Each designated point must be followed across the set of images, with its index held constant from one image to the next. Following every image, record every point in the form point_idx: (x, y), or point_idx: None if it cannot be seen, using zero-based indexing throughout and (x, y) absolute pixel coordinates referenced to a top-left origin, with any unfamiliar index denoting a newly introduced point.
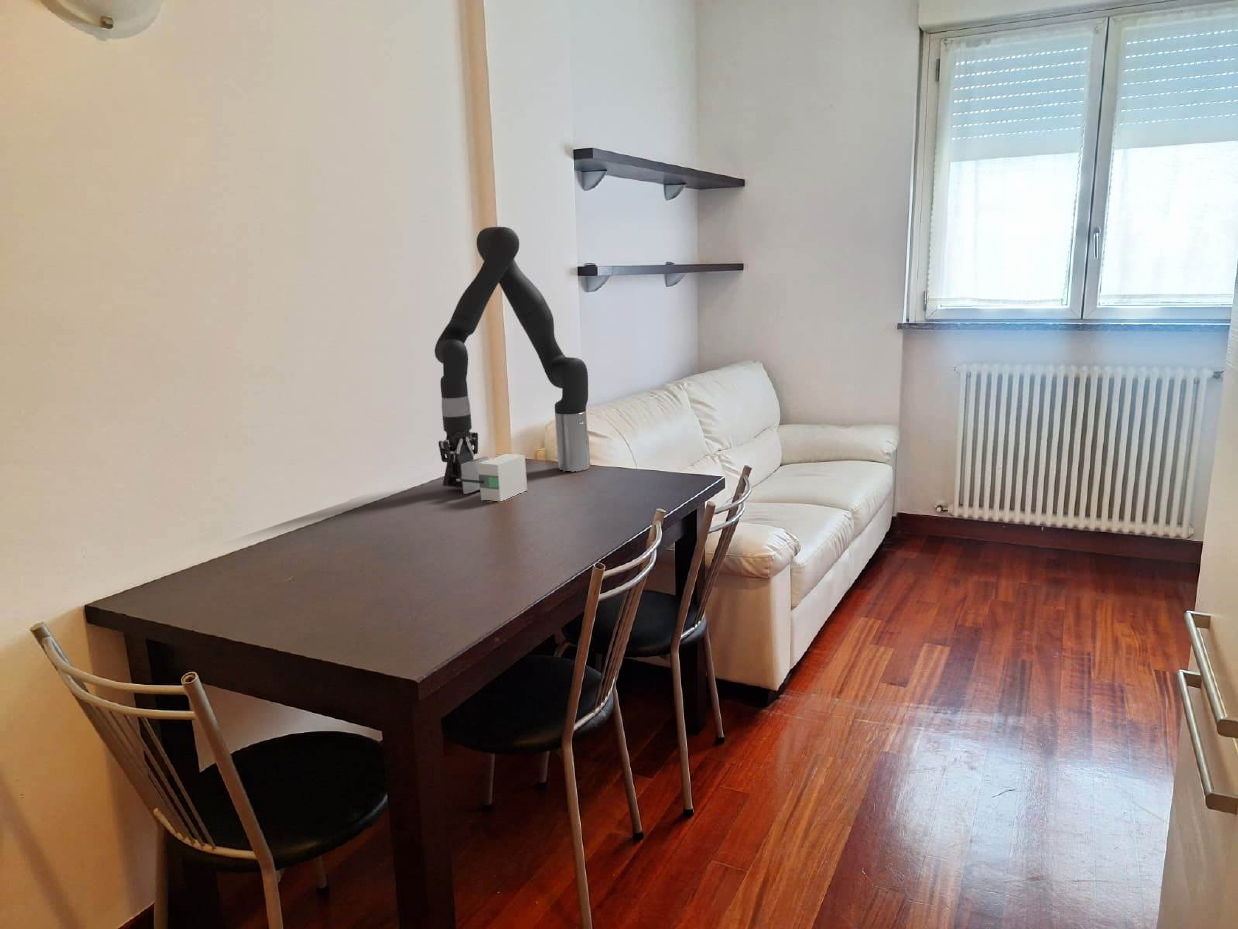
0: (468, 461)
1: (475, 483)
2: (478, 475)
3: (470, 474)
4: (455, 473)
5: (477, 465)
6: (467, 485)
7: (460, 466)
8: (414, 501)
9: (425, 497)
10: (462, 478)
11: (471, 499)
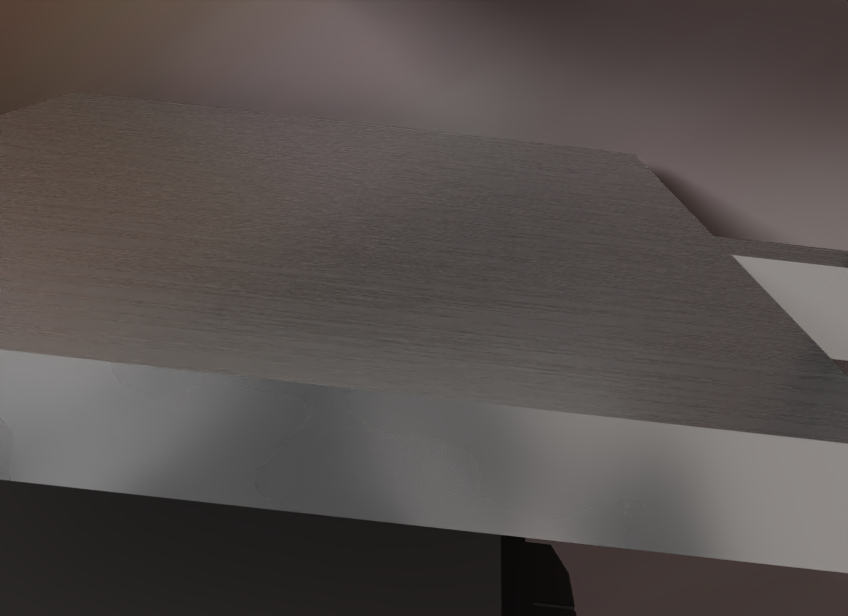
0: (152, 607)
1: (415, 157)
2: (284, 182)
3: (554, 242)
4: (522, 548)
5: (215, 275)
6: (640, 186)
7: (496, 590)
8: (812, 583)
9: (659, 565)
10: (841, 264)
11: (716, 17)
